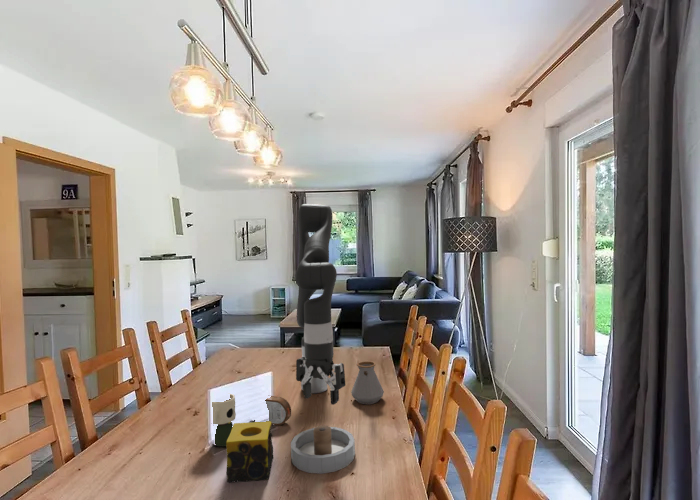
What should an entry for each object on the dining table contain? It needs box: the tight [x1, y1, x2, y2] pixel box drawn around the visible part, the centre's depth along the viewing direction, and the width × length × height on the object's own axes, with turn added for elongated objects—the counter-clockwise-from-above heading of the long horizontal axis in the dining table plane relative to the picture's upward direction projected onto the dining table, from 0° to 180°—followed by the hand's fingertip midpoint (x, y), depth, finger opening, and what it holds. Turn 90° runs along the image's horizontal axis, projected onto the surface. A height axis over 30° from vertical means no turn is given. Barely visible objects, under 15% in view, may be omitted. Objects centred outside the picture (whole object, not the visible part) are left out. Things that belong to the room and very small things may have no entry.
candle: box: [225, 421, 274, 484], centre depth 99 cm, size 10×10×10 cm
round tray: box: [290, 426, 356, 474], centre depth 105 cm, size 16×16×4 cm
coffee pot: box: [350, 360, 385, 405], centre depth 136 cm, size 21×12×15 cm, turn 176°
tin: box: [265, 395, 292, 426], centre depth 126 cm, size 15×3×8 cm, turn 71°
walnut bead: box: [313, 425, 332, 455], centre depth 105 cm, size 5×5×6 cm
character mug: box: [212, 393, 237, 447], centre depth 113 cm, size 11×7×13 cm, turn 177°
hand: (320, 400), depth 105 cm, fingers open, 8 cm apart
